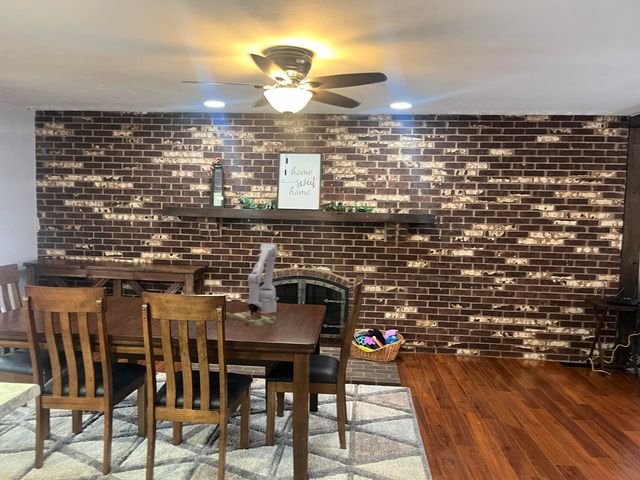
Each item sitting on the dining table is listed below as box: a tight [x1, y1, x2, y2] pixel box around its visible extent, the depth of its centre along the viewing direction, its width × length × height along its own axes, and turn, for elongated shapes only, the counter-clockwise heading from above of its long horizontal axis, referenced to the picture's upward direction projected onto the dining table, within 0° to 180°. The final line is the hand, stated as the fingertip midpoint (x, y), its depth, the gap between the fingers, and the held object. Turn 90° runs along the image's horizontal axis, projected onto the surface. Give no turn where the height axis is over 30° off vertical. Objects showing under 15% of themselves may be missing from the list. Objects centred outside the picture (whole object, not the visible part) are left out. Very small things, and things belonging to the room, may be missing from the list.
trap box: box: [225, 310, 278, 328], centre depth 261 cm, size 18×27×3 cm, turn 42°
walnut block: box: [252, 311, 262, 320], centre depth 256 cm, size 4×4×4 cm
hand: (253, 316), depth 259 cm, fingers closed
